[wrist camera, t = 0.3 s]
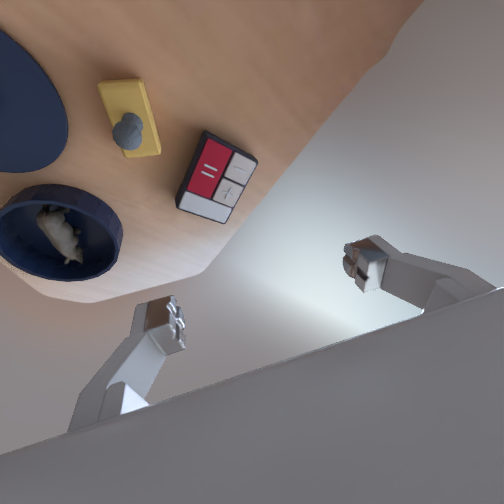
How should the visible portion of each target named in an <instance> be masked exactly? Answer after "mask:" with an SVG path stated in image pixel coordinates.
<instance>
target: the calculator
mask: <svg viewBox="0 0 504 504" xmlns="http://www.w3.org/2000/svg"><path fill="white" fill-rule="evenodd" d="M257 165H258V160H257V159H256V158H255V157H254V156H252V155H251V154H249V153H247V152H245V151H243V150H241V149H240V148H238V147H236V146H234V145H232V144H230V143H229V142H227V141H225V140H223V139H221V138H219V137H218V136H216V135H214V134H212V133H210V132H208V131H206V130H204V131H203V133H202V135H201V138H200V140H199V143H198V145H197V148H196V150H195V153H194V155H193V158H192V160H191V163H190V165H189V167H188V170H187V172H186V175H185V177H184V180H183V182H182V184H181V185H180V188H179V190H178V193H177V195H176V198H175V203H176V208H177V209H180V210H183V211H186V212H189V213H192V214H195V215H198V216H201V217H203V218H206V219H209V220H212V221H215V222H218V223H221V224H225V223H226V222H227V220H228V218H229V216H230V214H231V213H232V211H233V209H234V207H235V205H236V203H237V201H238V200H239V198H240V196H241V194H242V192H243V190H244V189H245V187H246V185H247V183H248V181H249V179H250V177H251V176H252V174H253V172H254V170H255V168H256V166H257Z"/></svg>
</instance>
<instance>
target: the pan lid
mask: <svg viewBox="0 0 504 504" xmlns="http://www.w3.org/2000/svg"><path fill="white" fill-rule="evenodd" d="M67 137H68V121H67V116H66V112H65V108H64V105H63V103H62V100H61V98H60V96H59V94H58V92H57V90H56V88H55V86H54V85H53V83H52V82H51V80H50V79H49V77H48V76H47V74H46V73H45V72H44V71H43V69H42V68H41V67H40V65H39V64H38V63H37V62H36V61H35V60H34V59H33V58H32V57H31V56H30V54H29V53H28V52H27V51H25V50H24V49H23V48H22V47H21V46H20V45H19V44H18V43H17V42H16V41H14V40H13V39H12V38H11V37H9V36H8V35H7V34H6V33H4V32H3V31H2V30H0V172H9V173H24V172H31V171H35V170H39V169H42V168H44V167H46V166H48V165H49V164H51V163H52V162H54V161H55V160H56V159H57V158H58V157H59V156H60V154H61V153H62V151H63V150H64V147H65V145H66V142H67Z"/></svg>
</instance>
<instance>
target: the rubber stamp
mask: <svg viewBox="0 0 504 504" xmlns="http://www.w3.org/2000/svg"><path fill="white" fill-rule="evenodd" d="M97 88H98V91H99V94H100V96H101V99H102V101H103V104H104V106H105V109H106V112H107V114H108V117H109V119H110V122H111V125H112V127H113V130H112V133H113V139H114V141H115V142H116V144H117V145H118V146H119V147H120V148H121V150H122V153H123V155H124V157H126V158H134V157H142V156H151V155H159V154H160V153H161V143H160V140H159V136H158V132H157V129H156V125H155V121H154V118H153V114H152V110H151V107H150V103H149V99H148V96H147V92H146V89H145V85H144V81H143V80H142V79H141V78H134V79H118V80H103V81H102V82H100V83H99V84H98V86H97Z"/></svg>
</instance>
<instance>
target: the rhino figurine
mask: <svg viewBox="0 0 504 504" xmlns="http://www.w3.org/2000/svg"><path fill="white" fill-rule="evenodd" d="M52 205H53V204H43V205H42V209H41V210H40V212H39V213H38V214H37V216H36V222H37V225H38V226H39V228H40V229H41V230H42V231H43V232H44V233H45V235H46V236H47V237H48V239H49V240H50V241H51V243H52V245H53V246H54V247H55V248H56V249H57V250H58V251H59V252H60V253H61V254H62V255H64V256H65V257H67V258H66V259H65V261H64V264H67V263H69V260H74V259H76V260H77V261H78V262H80V263H81V264H83V253H84V250H82V249H81V248H80V247H78V246H76V245H77V243H78V236H77V234H80V233H81V230H80V229H78V228H73V229H72V227H71V225H70V224H69V223H68V222H65V217H64V213H69V212H70V208H66V207H62V206H60V207H58V208H57V209H56V210H53V211H50V210H49V206H52Z"/></svg>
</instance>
